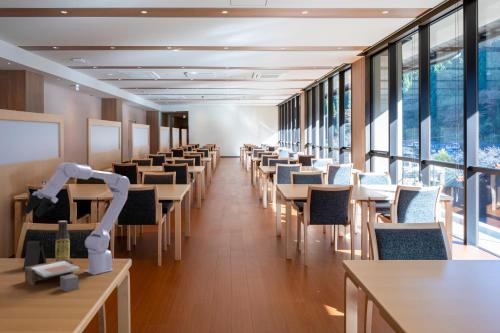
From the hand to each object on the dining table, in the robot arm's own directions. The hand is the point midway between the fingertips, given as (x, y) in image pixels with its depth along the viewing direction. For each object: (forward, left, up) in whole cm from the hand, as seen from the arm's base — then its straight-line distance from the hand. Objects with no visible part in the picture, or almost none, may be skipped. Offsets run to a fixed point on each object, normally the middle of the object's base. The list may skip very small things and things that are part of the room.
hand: (31, 213), depth 179 cm
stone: (-9, +12, -29) cm, 33 cm away
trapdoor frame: (-9, -7, -29) cm, 31 cm away
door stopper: (-12, -30, -30) cm, 44 cm away
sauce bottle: (-24, -28, -30) cm, 47 cm away
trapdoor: (-9, -1, -24) cm, 26 cm away
